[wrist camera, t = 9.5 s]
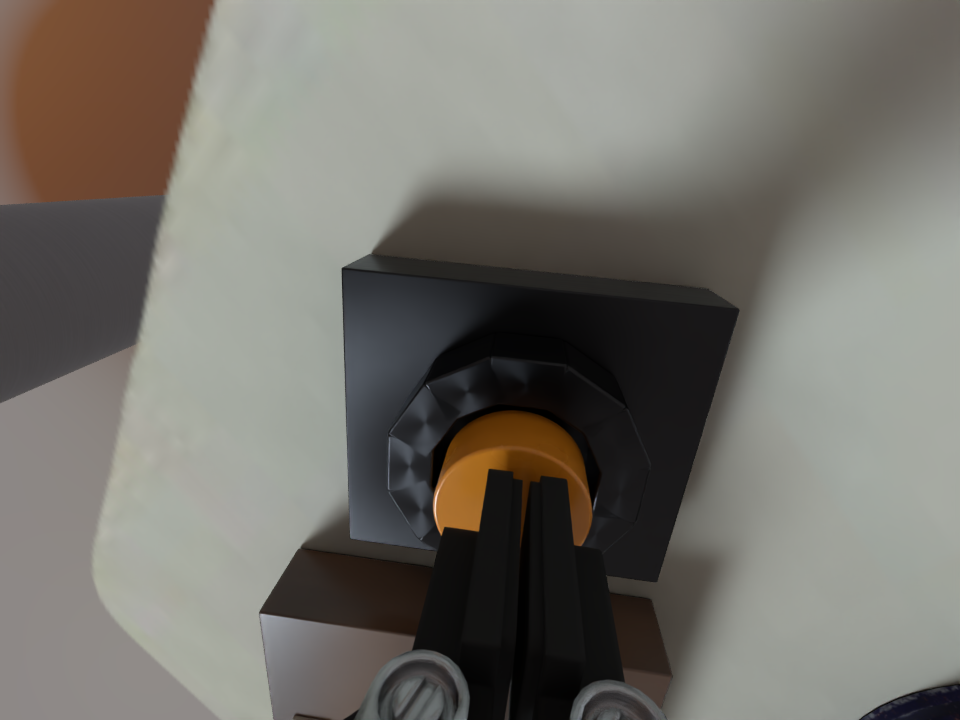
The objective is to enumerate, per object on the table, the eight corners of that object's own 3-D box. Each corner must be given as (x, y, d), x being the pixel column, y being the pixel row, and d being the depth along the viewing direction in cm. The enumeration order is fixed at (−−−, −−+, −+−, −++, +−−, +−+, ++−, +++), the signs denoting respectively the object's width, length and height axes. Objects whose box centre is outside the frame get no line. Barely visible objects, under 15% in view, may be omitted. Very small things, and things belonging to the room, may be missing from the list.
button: (441, 516, 13) (429, 565, 11) (449, 400, 12) (435, 437, 10) (572, 534, 13) (578, 586, 11) (596, 417, 11) (606, 459, 10)
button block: (370, 496, 17) (327, 584, 14) (368, 253, 14) (309, 282, 10) (642, 533, 17) (673, 635, 13) (709, 288, 13) (776, 332, 10)
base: (313, 727, 23) (282, 807, 20) (297, 535, 19) (253, 603, 16) (598, 775, 22) (608, 866, 19) (655, 586, 18) (680, 668, 15)
